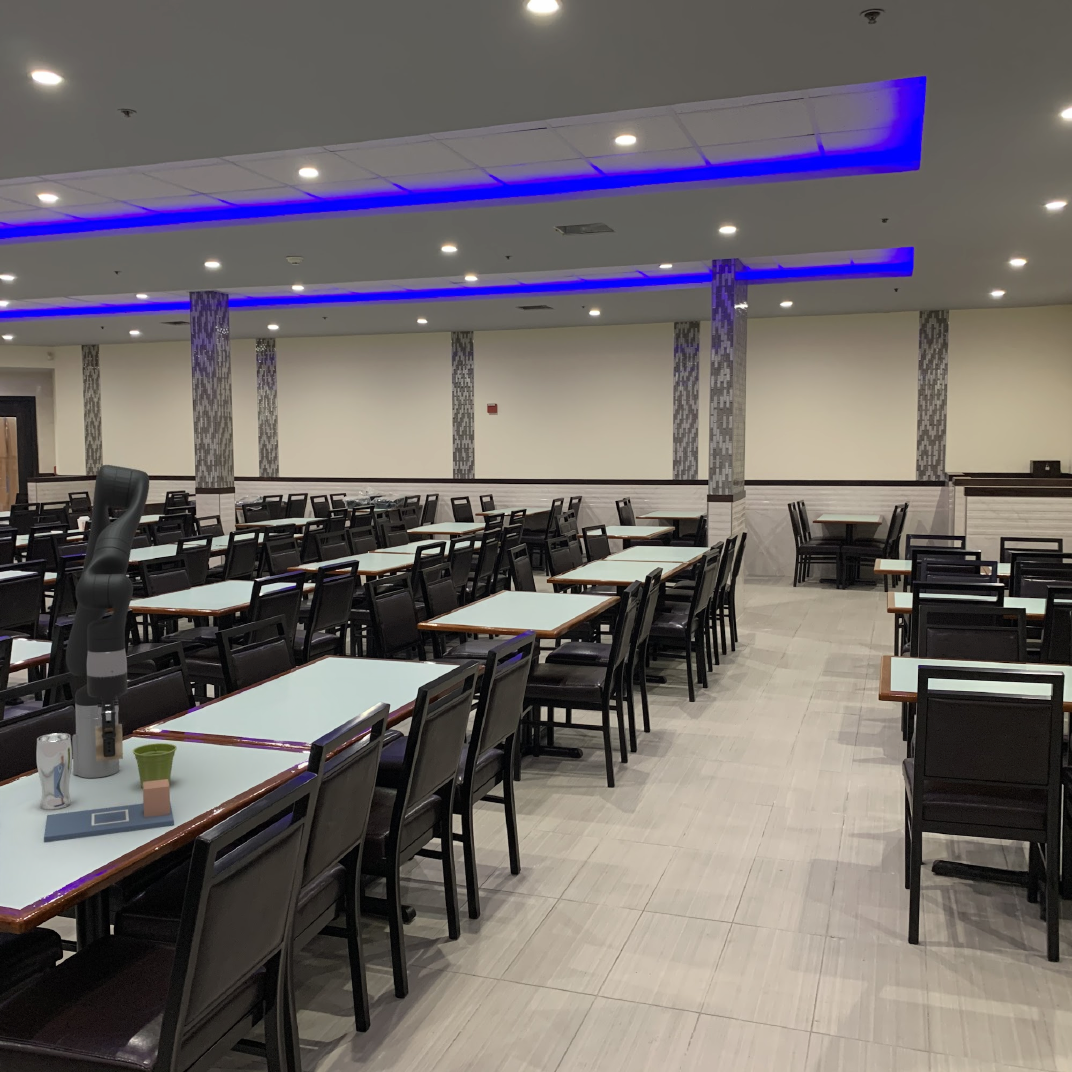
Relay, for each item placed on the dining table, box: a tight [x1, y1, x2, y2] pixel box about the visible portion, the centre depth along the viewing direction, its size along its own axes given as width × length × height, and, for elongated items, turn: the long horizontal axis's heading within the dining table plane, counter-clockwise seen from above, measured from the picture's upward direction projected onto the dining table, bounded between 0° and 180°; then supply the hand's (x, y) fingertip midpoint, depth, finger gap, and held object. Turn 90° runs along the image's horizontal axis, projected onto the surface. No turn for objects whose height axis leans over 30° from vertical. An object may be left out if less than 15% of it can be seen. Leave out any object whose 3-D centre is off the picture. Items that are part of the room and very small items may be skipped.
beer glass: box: [36, 732, 73, 811], centre depth 215 cm, size 7×7×15 cm
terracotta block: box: [142, 779, 171, 817], centre depth 209 cm, size 5×5×6 cm
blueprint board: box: [43, 802, 175, 843], centre depth 206 cm, size 24×13×1 cm, turn 114°
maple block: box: [95, 723, 124, 761], centre depth 204 cm, size 5×5×6 cm
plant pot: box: [132, 742, 178, 788], centre depth 228 cm, size 9×9×9 cm
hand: (109, 752), depth 204 cm, fingers closed on maple block, 5 cm apart
